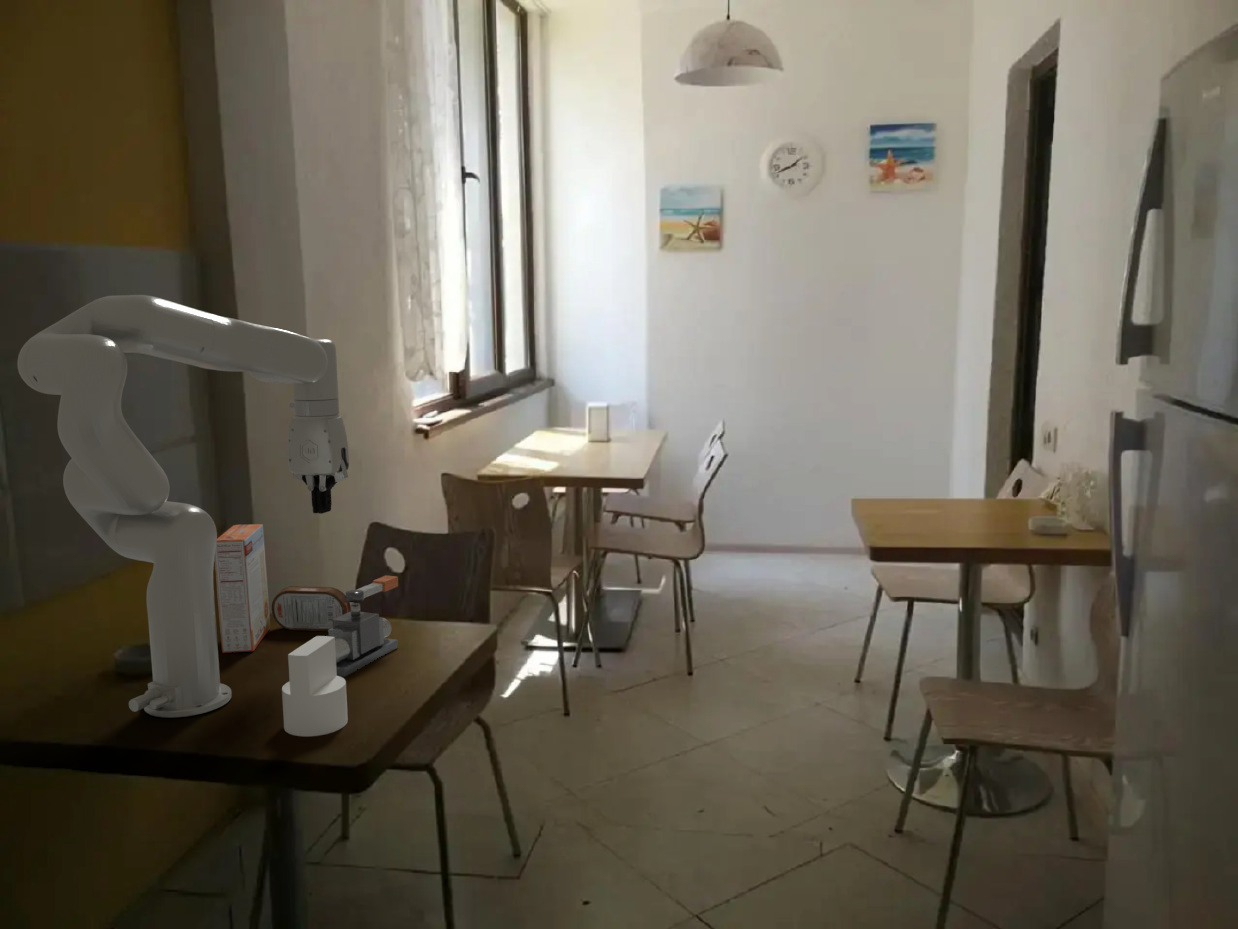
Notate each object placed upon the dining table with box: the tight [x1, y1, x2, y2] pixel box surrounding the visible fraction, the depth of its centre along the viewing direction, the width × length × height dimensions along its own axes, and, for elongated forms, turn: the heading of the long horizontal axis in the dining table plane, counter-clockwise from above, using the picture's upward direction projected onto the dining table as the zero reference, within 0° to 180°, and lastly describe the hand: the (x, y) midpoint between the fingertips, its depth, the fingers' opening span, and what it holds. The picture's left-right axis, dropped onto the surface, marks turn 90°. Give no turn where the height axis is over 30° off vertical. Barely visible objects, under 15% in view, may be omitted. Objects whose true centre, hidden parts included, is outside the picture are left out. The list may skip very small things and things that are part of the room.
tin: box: [271, 585, 351, 632], centre depth 194 cm, size 15×3×8 cm, turn 84°
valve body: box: [327, 602, 399, 678], centre depth 176 cm, size 16×6×10 cm, turn 159°
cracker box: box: [214, 523, 271, 654], centre depth 186 cm, size 14×6×21 cm, turn 6°
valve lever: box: [345, 575, 399, 603], centre depth 180 cm, size 12×3×2 cm, turn 158°
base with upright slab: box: [281, 635, 349, 737], centre depth 148 cm, size 9×9×12 cm
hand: (322, 511), depth 180 cm, fingers closed
